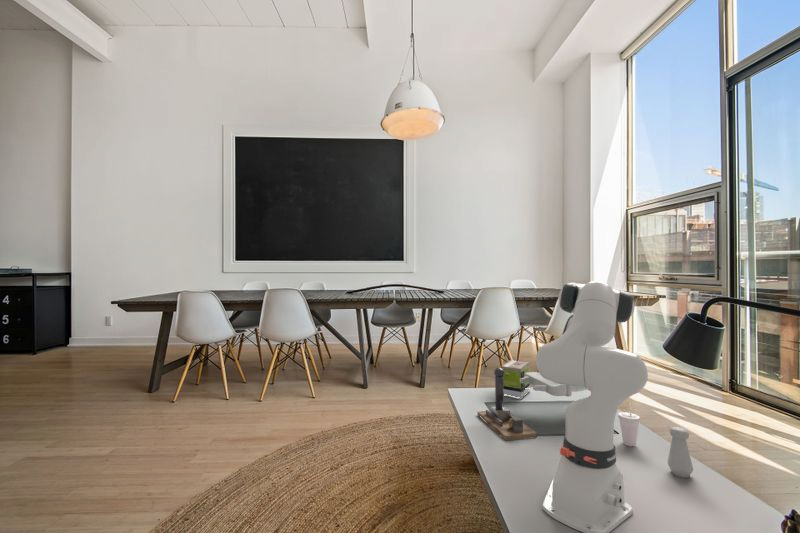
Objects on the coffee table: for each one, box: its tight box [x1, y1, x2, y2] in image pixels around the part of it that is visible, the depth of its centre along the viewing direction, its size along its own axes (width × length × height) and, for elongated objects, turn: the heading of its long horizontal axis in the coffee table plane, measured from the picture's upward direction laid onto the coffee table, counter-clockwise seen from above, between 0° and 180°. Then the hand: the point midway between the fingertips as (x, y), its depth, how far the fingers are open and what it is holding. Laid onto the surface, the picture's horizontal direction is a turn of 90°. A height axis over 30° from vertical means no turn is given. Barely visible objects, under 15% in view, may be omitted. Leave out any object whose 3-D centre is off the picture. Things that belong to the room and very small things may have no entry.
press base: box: [477, 409, 538, 442], centre depth 135 cm, size 23×12×6 cm, turn 13°
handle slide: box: [490, 367, 511, 421], centre depth 139 cm, size 6×5×19 cm
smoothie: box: [617, 402, 641, 447], centre depth 120 cm, size 6×6×14 cm
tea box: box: [500, 359, 531, 398], centre depth 172 cm, size 15×10×15 cm, turn 144°
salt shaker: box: [667, 426, 694, 479], centre depth 102 cm, size 6×6×13 cm
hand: (527, 384), depth 142 cm, fingers open, 8 cm apart
